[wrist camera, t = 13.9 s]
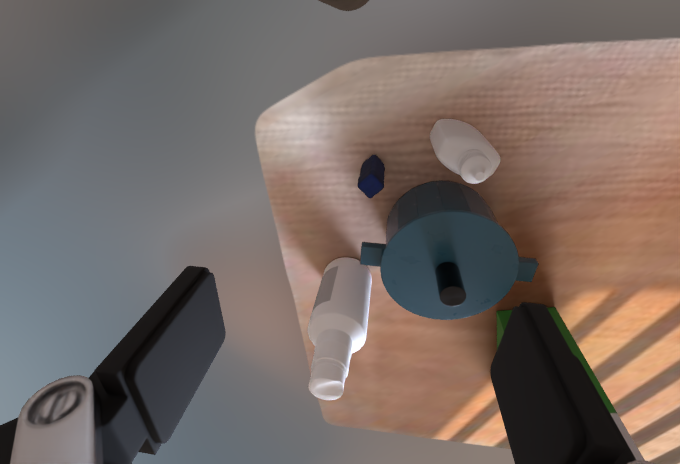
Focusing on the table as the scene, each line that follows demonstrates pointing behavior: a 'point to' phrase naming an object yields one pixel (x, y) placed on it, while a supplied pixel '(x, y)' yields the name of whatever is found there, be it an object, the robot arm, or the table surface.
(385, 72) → the table surface
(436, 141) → the eye dropper bottle
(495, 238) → the pot lid
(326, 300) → the white plastic bottle
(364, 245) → the pot
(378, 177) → the eraser
